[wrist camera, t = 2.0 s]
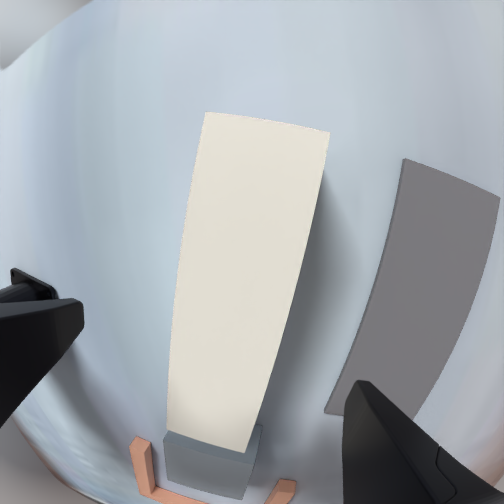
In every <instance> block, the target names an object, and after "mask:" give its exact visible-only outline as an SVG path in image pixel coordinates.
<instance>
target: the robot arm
mask: <svg viewBox="0 0 504 504" xmlns="http://www.w3.org/2000/svg"><path fill="white" fill-rule="evenodd" d="M10 273H11V283H12V285H10V286H8V287H6V288H3V289H1V290H0V428H1V427H2V426H3V424H4V423H5V422H6V421H7V419H8V418H9V417H10V416H11V414H12V413H13V412H14V411H15V410H16V408H17V407H18V406H19V405H20V404H21V402H22V401H23V400H24V399H25V398H26V397H27V395H28V394H29V393H30V392H31V391H32V390H33V389H34V387H35V386H36V385H37V384H38V383H39V382H40V381H41V380H42V378H43V377H44V376H45V375H46V374H47V373H48V372H49V371H50V370H51V368H52V367H53V366H54V365H55V364H56V363H57V362H58V361H59V360H60V358H61V357H62V356H63V355H64V353H65V352H66V351H67V349H68V348H69V347H70V345H71V344H72V343H73V341H74V340H75V339H76V338H77V336H78V335H79V334H80V332H81V331H82V330H83V328H84V309H83V304H82V302H81V301H78V300H76V299H74V298H68V299H56V298H55V291H54V288H53V287H52V286H51V285H49V284H47V283H44V282H42V281H40V280H38V279H36V278H34V277H32V276H30V275H28V274H26V273H25V272H23V271H21V270H19V269H17V268H12V269H11V271H10ZM342 463H343V504H504V493H503V492H500V491H499V490H497V489H495V488H494V487H493V486H491V485H490V484H488V483H487V482H485V481H484V480H483V479H481V478H480V477H478V476H477V475H476V474H474V473H473V472H471V471H470V470H469V469H467V468H466V467H465V466H463V465H462V464H461V463H459V462H458V461H457V460H456V459H455V458H454V457H452V456H451V455H450V454H449V453H448V452H447V451H445V450H444V449H443V448H442V447H441V446H439V444H438V443H437V442H435V441H434V440H433V439H432V438H431V437H430V436H429V435H428V434H427V433H425V432H424V431H423V430H422V429H421V428H420V427H419V426H418V425H417V424H416V423H415V422H413V421H412V420H411V419H410V418H409V417H408V416H407V415H406V414H405V413H404V412H402V411H401V410H400V409H399V408H398V407H397V406H396V405H395V404H394V403H393V402H392V401H391V400H389V399H388V398H387V397H386V396H385V395H384V394H383V393H382V392H381V391H380V390H379V389H378V388H376V387H375V386H374V385H373V384H372V383H371V382H370V381H366V380H356V381H355V383H354V384H353V386H352V389H351V391H350V393H349V395H348V397H347V399H346V401H345V405H344V422H343V437H342Z"/></svg>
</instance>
